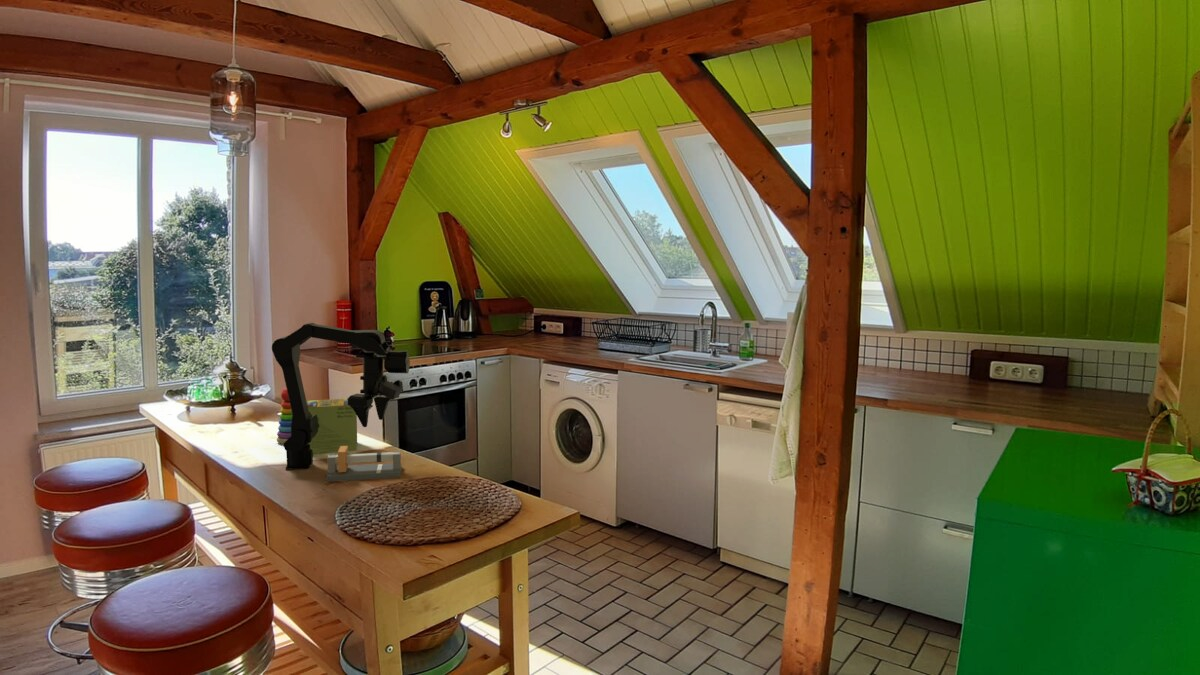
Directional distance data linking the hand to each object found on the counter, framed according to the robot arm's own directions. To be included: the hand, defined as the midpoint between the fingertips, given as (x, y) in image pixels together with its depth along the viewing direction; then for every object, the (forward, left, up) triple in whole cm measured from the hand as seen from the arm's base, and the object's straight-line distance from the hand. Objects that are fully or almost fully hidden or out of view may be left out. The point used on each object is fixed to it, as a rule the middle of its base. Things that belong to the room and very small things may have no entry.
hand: (373, 423), depth 204 cm
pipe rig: (-2, -8, -13) cm, 15 cm away
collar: (-8, -8, -11) cm, 16 cm away
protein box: (-15, +21, -14) cm, 29 cm away
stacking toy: (-30, +31, -14) cm, 45 cm away
